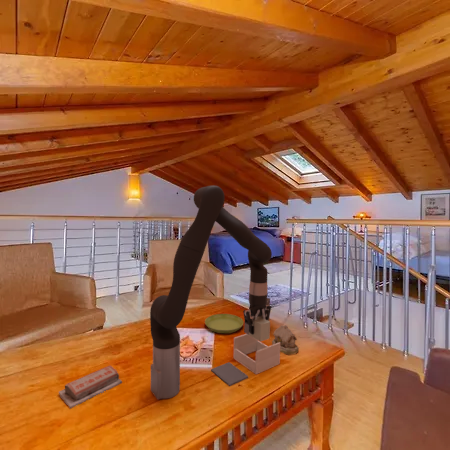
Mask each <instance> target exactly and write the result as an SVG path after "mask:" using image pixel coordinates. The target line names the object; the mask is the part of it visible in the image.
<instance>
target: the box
mask: <svg viewBox="0 0 450 450" xmlns="http://www.w3.org/2000/svg"><path fill="white" fill-rule="evenodd" d="M252 317H254V316H252ZM252 321H253V320H251V322H252ZM243 327H244V329H243V331H244V332H243V333H245V334H248V335H250V336H252V337H253V338H255V339H257V340H258V341H259V342H261V343H262V342H263V341H267V340H269V339H270V336H271V335H270V332H271V321H270V320H269V321H267V320H265V319H262V318H261V317H257V320H256V321H255V324H254V334H253V335H252V334H250V333H249V325H248V324H246V323H245V322H244V325H243Z"/></svg>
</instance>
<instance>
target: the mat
mask: <svg viewBox="0 0 450 450" xmlns="http://www.w3.org/2000/svg"><path fill="white" fill-rule="evenodd" d="M210 371H211V372H212V373H213V374H214V375H215V376H217V378H219V379H220V380H221V381H223V382H224V383H225V385H227V386H228V387H231V386H233V385H236V384H238V383H240V382H242V381H244V380H246V379H247V380H248V379H249V376H248V375H247V374H246V373H245V372H243V371H242V370H240V369H239V368H238V367H237V366H235V365H234V364H233V363H231V362H230V361H228V362H226V363H224V364H221V365H219V366H216V367H214V368H210Z"/></svg>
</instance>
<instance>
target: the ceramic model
mask: <svg viewBox="0 0 450 450" xmlns="http://www.w3.org/2000/svg"><path fill="white" fill-rule="evenodd" d="M273 336H274V338H273V339H272V341H271V345H273V344H276V343H279V342H280V353H282V354H285V355H295V354H297V353H298V352H299V346H298V345H297V344H296V341H297V340H298V339H297V336H296V335H295V334H294V332H293V331H292V330H291V329H290V328H288V325H283V324H282V325H280V326H279V327H278V328H276V329H275V330H274V332H273Z"/></svg>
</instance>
